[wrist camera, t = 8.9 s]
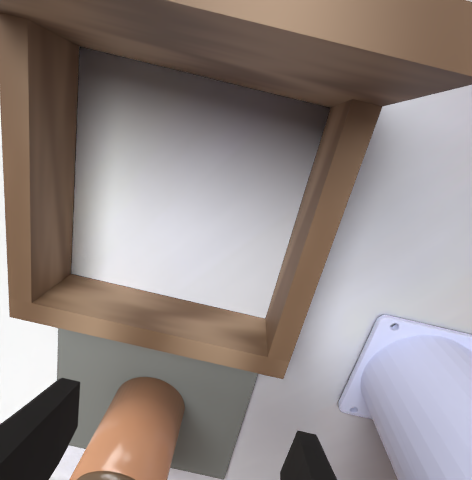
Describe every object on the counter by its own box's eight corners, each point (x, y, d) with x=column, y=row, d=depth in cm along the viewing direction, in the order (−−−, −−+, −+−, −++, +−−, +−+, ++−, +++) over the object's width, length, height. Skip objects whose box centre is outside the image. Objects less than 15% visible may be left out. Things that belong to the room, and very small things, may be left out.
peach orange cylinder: (191, 387, 21) (166, 485, 15) (177, 436, 23) (151, 540, 17) (119, 369, 21) (66, 461, 15) (112, 420, 23) (62, 519, 17)
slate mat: (260, 364, 20) (260, 366, 20) (224, 476, 24) (223, 479, 24) (60, 318, 20) (58, 320, 20) (57, 439, 24) (55, 442, 24)
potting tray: (362, 87, 14) (519, 13, 6) (278, 338, 19) (296, 493, 11) (55, 11, 14) (-249, -181, 6) (52, 286, 19) (-110, 404, 11)
